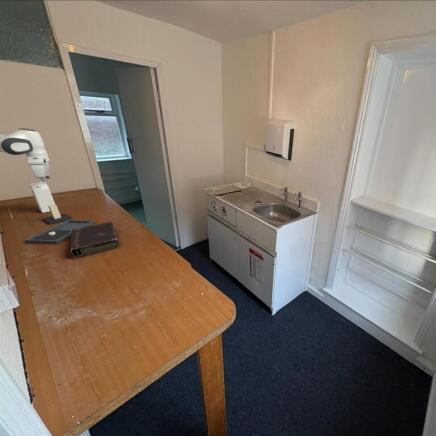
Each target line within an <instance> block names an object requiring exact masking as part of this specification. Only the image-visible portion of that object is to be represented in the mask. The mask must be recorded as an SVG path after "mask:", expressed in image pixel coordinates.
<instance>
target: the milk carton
mask: <svg viewBox="0 0 436 436" xmlns="http://www.w3.org/2000/svg"><path fill="white" fill-rule="evenodd" d="M29 187H30V191H31V193H32V196H33V198H34V200H35V202H36V203H35V204H36V205H37V207H38V210H39V211H40V212H41V213H42V214H44V213H49V212H50V209H49V207H48V206H49V205H53V204H55V205H56V203H55V200H54V197H53V195H52V192H51V189H50V187H49V185H48V183H46V184H43V183H42V181H37V182H29Z"/></svg>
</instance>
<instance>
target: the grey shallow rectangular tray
mask: <svg viewBox="0 0 436 436" xmlns="http://www.w3.org/2000/svg"><path fill="white" fill-rule="evenodd" d="M95 223H96V222H95V220H88V219H87V220H85V219H69V220H65V221H61V222H59V223H58V224H56V225H53V226H51V227H49V228H48V229H45V230H43V231H41V232H39V233H37V234H35V235H33V236H31V237H28V238H26V239H24V242H25V244H50V245H51V244H52V245H54V244H55V245H57V244H60V243H61V242H63V241H65V240H67V239H68V238H71V232H72V229H78V228H82V227H86V226H90V225H95ZM50 230H70V231H71V232H70V233H68V234H66V235H64V236H62V237H60V238H58V239H56V240H41V239H34V238H36V237H38V236H40V235H42V234H44V233H46V232H48V231H50Z"/></svg>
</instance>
